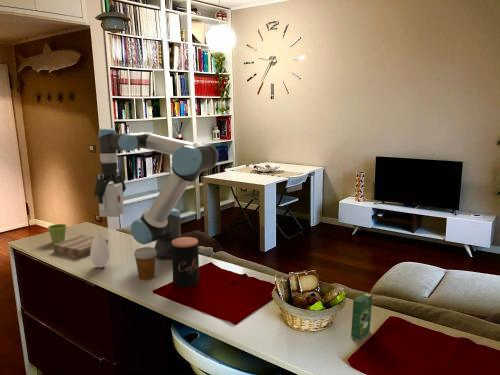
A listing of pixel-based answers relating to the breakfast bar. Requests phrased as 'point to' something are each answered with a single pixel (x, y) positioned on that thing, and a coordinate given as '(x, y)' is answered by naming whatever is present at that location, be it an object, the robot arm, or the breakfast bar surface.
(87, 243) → the walnut riser
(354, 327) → the coffee box
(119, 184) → the supplement box
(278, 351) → the breakfast bar surface
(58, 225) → the plant pot
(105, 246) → the white teardrop-shaped piece
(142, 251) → the disposable coffee cup
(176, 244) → the coffee jar
